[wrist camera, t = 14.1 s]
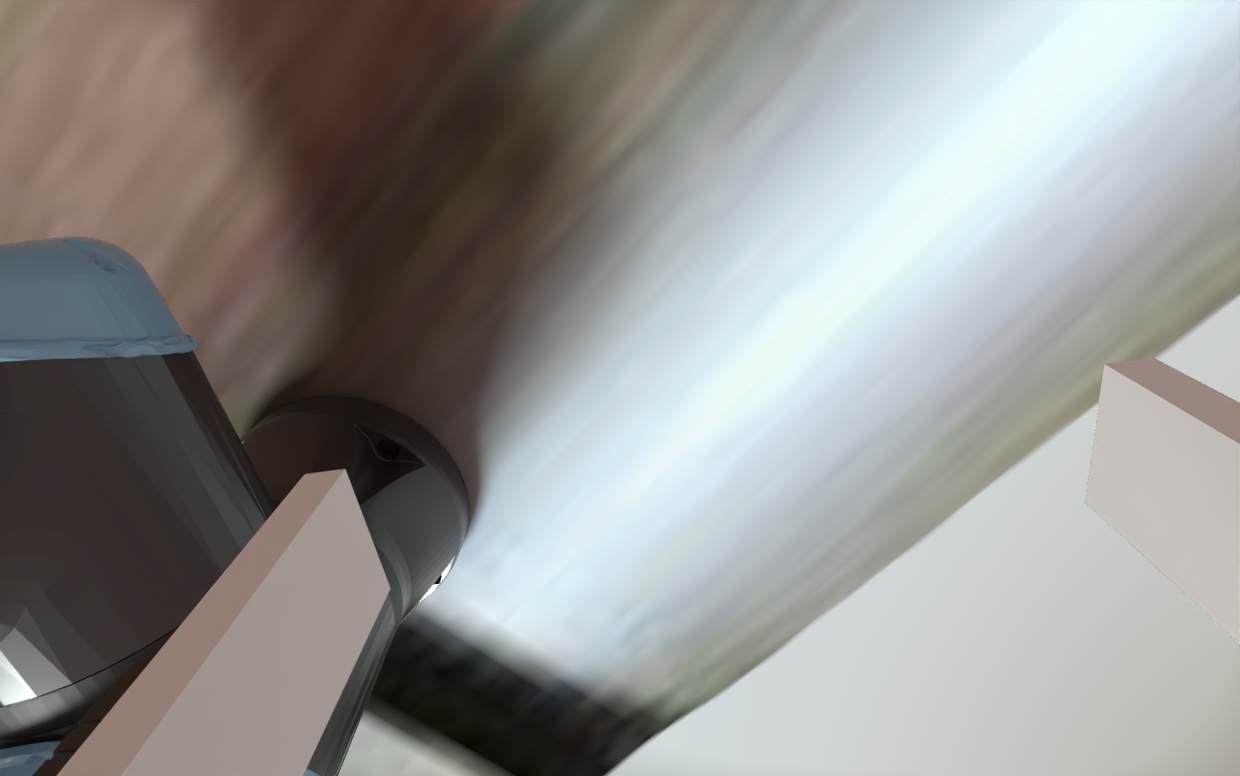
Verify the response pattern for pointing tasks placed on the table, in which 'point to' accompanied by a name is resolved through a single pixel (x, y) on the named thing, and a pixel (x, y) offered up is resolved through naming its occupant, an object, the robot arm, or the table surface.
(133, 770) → the robot arm
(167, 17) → the table surface
